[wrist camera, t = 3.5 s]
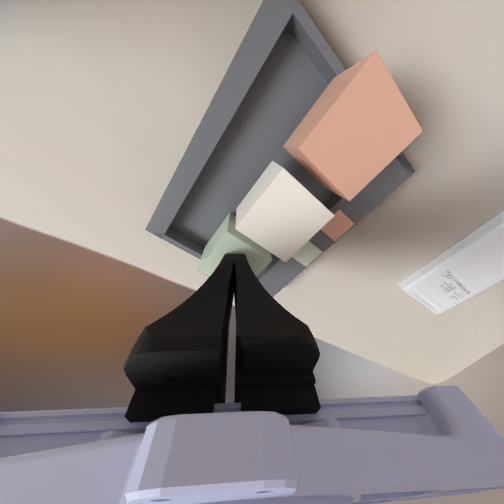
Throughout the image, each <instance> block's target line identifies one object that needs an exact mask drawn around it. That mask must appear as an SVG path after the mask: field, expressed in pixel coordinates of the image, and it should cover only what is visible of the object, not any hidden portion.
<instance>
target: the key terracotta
mask: <svg viewBox="0 0 504 504" xmlns="http://www.w3.org/2000/svg"><path fill="white" fill-rule="evenodd" d="M422 132H423V130H422V128H421V126H420V125H419V123H418V121H417V120H416V118H415V116H414V114H413V113H412V111H411V109H410V108H409V106H408V104H407V102H406V101H405V99H404V97H403V95H402V94H401V92H400V90H399V89H398V87H397V85H396V83H395V82H394V80H393V78H392V76H391V75H390V73H389V71H388V70H387V68H386V66H385V64H384V63H383V61H382V59H381V58H380V56H379V54H378V52H377V51H376V50H375V51H374V52H372V53H371V54H369V55H368V56H366V57H365V58H363V59H362V60H360V61H359V62H357V63H356V64H354V65H353V66H351V67H350V68H348V69H347V70H345V71H344V72H342V73H341V74H339V75H338V76H336V77H335V78H333V80H332V81H331V82H330V84H329V85H328V86H327V88H326V89H325V90H324V92H323V93H322V94H321V96H320V97H319V98H318V100H317V101H316V102H315V104H314V105H313V106H312V108H311V109H310V110H309V112H308V113H307V115H306V116H305V117H304V119H303V120H302V121H301V123H300V124H299V125H298V127H297V128H296V129H295V131H294V132H293V133H292V135H291V136H290V137H289V139H288V140H287V141H286V143H285V144H284V145H283V147H284V148H285V149H286V150H287V151H288V152H289V153H290V154H291V155H292V156H293V157H294V158H295V159H296V160H297V161H298V162H299V163H300V164H301V165H302V166H303V167H304V168H305V169H306V170H307V171H308V172H309V173H310V174H311V175H312V176H313V177H314V178H315V179H316V180H317V181H318V182H319V183H320V184H321V185H322V186H323V187H325V188H327V189H329V190H330V191H332V192H334V193H336V194H337V195H339V196H341V197H343V198H344V199H346V200H348V201H350V200H351V199H353V198H354V197H355V196H356V195H357V194H358V193H359V192H360V191H361V190H362V189H363V188H364V187H365V186H366V185H367V184H368V183H369V182H370V181H371V180H372V179H373V178H374V177H376V176H377V175H378V174H379V173H380V172H381V171H382V170H383V169H384V168H385V167H386V166H387V165H388V164H389V163H390V162H391V161H392V160H393V159H394V158H395V157H396V156H398V155H399V154H400V153H401V152H402V151H403V150H404V149H405V148H406V147H407V146H408V145H409V144H410V143H411V142H412V141H413V140H414V139H415V138H416V137H417V136H418V135H419V134H421V133H422Z"/></svg>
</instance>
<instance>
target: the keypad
mask: <svg viewBox="0 0 504 504" xmlns="http://www.w3.org/2000/svg"><path fill="white" fill-rule="evenodd" d="M345 70H346V69H345V68H344V66H343V65H342V63H341V62H340V60H339V59H338V57H337V56H336V54H335V53H334V51H333V50H332V48H331V47H330V45H329V44H328V43H327V41H326V40H325V38H324V37H323V35H322V34H321V32H320V31H319V29H318V28H317V26H316V25H315V23H314V22H313V20H312V19H311V17H310V16H309V15H308V13H307V12H306V10H305V9H304V7H303V6H302V4H301V3H300V1H299V0H263V2H262V4H261V6H260V8H259V10H258V12H257V14H256V16H255V18H254V20H253V22H252V24H251V26H250V28H249V29H248V31H247V33H246V35H245V37H244V39H243V41H242V43H241V45H240V47H239V49H238V51H237V53H236V55H235V57H234V59H233V61H232V62H231V64H230V66H229V68H228V70H227V72H226V74H225V76H224V78H223V80H222V82H221V84H220V86H219V88H218V90H217V92H216V93H215V95H214V97H213V99H212V101H211V103H210V105H209V107H208V109H207V111H206V113H205V115H204V117H203V119H202V121H201V123H200V125H199V126H198V128H197V130H196V132H195V134H194V136H193V138H192V140H191V142H190V144H189V146H188V148H187V150H186V152H185V154H184V156H183V157H182V159H181V161H180V163H179V165H178V167H177V169H176V171H175V173H174V175H173V177H172V179H171V181H170V183H169V185H168V187H167V189H166V190H165V192H164V194H163V196H162V198H161V200H160V202H159V204H158V206H157V208H156V210H155V212H154V214H153V216H152V218H151V220H150V221H149V223H148V225H147V227H146V229H145V230H147V231H149V232H151V233H153V234H154V235H156V236H158V237H160V238H162V239H164V240H166V241H167V242H169V243H171V244H173V245H175V246H177V247H179V248H180V249H182V250H184V251H186V252H188V253H190V254H192V255H193V256H195V257H197V258H199V259H201V257H202V254H203V251H204V248H205V246H206V244H207V243H208V242H209V240H210V239H211V237H212V236H213V235H214V233H215V232H216V231H217V229H218V228H219V227H220V225H221V224H222V222H223V221H224V220H225V218H226V217H227V216H228V214H229V213H231V214H233V215H234V216H235V217H236V209H237V207H238V206H239V204H240V203H241V202H242V200H243V199H244V198H245V196H246V195H247V194H248V192H249V191H250V190H251V188H252V187H253V186H254V184H255V183H256V182H257V180H258V179H259V178H260V176H261V175H262V174H263V172H264V171H265V170H266V168H267V167H268V166H269V164H270V163H271V162H272V161H274V162H275V163H277V164H278V165H280V166H281V167H283V168H284V169H285V170H286V171H287V172H288V173H289V174H291V175H292V176H293V177H294V178H295V179H296V180H297V181H298V182H299V183H300V184H301V185H302V186H303V187H304V188H306V189H307V190H308V191H309V192H310V193H311V194H312V195H313V196H314V197H315V198H316V199H317V200H318V201H320V202H321V203H322V204H323V205H324V206H325V207H326V208H327V209H328V210H329V211H330V212H331V213H332V214H334V215H335V216H334V217H333V218H332V219H331V220H330V221H328V222H327V223H326V224H325V225H324V226H323V227H322V228H321V229H320V230H319V231H318V232H317V233H316V234H315V235H314V236H313V237H312V238H311V239H310V240H309V241H308V242H307V243H305V244H304V245H303V246H302V247H301V248H300V249H299V250H298V251H297V252H296V253H295V254H294V255H293V256H292V257H291V258H290V259H289V260H288V261H287V262H284V261H283V260H281V259H280V258H278V257H277V256H275V255H274V254H272V253H271V252H270V253H271V257H272V261H271V262H270V263H269V264H268V265H267V267H266V268H265V269H264V270H263V271H262V272H261V273H260V274H259V275H258V276H257V279H258V280H259V281H260V283H261V284H262V286H263V287H264V288H265V289H266V291H267V292H268V293H269V294H270V295H271V296H272V297H273V296H274V295H276V294H277V293H278V292H279V291H280V290H281V289H282V288H284V287H285V286H286V285H287V284H288V283H289V282H290V281H291V280H293V279H294V278H295V277H296V276H297V275H298V274H299V273H301V272H302V271H303V270H304V269H305V268H306V267H307V266H308V265H310V264H311V263H312V262H313V261H314V260H315V259H316V258H318V257H319V256H320V255H321V254H322V253H323V252H324V251H326V250H327V249H328V248H329V247H330V246H331V245H332V244H333V243H335V242H336V241H337V240H338V239H339V238H340V237H341V236H343V235H344V234H345V233H346V232H347V231H348V230H349V229H350V228H352V227H353V226H354V225H355V224H356V223H357V222H358V221H360V220H361V219H362V218H363V217H364V216H365V215H366V214H367V213H369V212H370V211H371V210H372V209H373V208H374V207H375V206H377V205H378V204H379V203H380V202H381V201H382V200H383V199H384V198H386V197H387V196H388V195H389V194H390V193H391V192H392V191H394V190H395V189H396V188H397V187H398V186H399V185H400V184H402V183H403V182H404V181H405V180H406V179H407V178H408V177H409V176H411V175H412V174H413V173H414V172H415V171H414V169H413V168H412V166H411V165H410V163H409V162H408V160H407V159H406V157H405V156H404V155H403V153H402V152H401V153H400V154H399V155H398V156H396V157H395V158H394V159H393V160H392V161H391V162H390V163H389V164H388V165H387V166H386V167H385V168H384V169H383V170H382V171H381V172H380V173H379V174H378V175H377V176H376V177H374V178H373V179H372V180H371V181H370V182H369V183H368V184H367V185H366V186H365V187H364V188H363V189H362V190H361V191H360V192H359V193H358V194H357V195H356V196H355V197H354V198H353V199H351V200H350V201H348V200H346V199H344V198H343V197H341V196H339V195H337V194H336V193H334V192H332V191H330V190H329V189H327V188H325V187H323V186H322V185H321V184H320V183H319V182H318V181H317V180H316V179H315V178H314V177H313V176H312V175H311V174H310V173H309V172H308V171H307V170H306V169H305V168H304V167H303V166H302V165H301V164H300V163H299V162H298V161H297V160H296V159H295V158H294V157H293V156H292V155H291V154H290V153H289V152H288V151H287V150H286V149H285V148H284V147H283V145H284V144H285V143H286V141H287V140H288V139H289V137H290V136H291V135H292V133H293V132H294V131H295V129H296V128H297V127H298V125H299V124H300V123H301V121H302V120H303V119H304V117H305V116H306V115H307V113H308V112H309V110H310V109H311V108H312V106H313V105H314V104H315V102H316V101H317V100H318V98H319V97H320V96H321V94H322V93H323V92H324V90H325V89H326V88H327V86H328V85H329V84H330V82H331V81H332V80H333V78H335V77H336V76H338V75H339V74H341V73H342V72H344V71H345Z"/></svg>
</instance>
